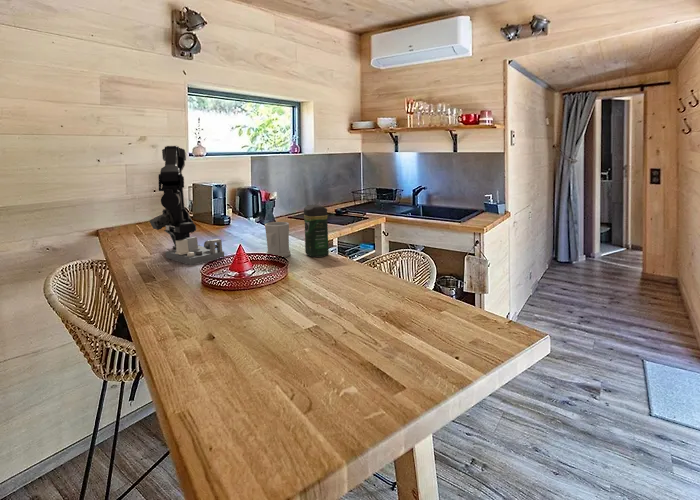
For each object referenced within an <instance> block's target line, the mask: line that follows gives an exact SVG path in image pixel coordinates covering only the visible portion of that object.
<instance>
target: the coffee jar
mask: <svg viewBox="0 0 700 500" xmlns="http://www.w3.org/2000/svg"><path fill="white" fill-rule="evenodd" d="M328 215H329V214H328V208H327V207H325V206H322V205H319V204H306V206H305V207H304V208H303V219H304V248H305V249H304V250H305V251H304V253H305V254H306V255H307V256H309V257H312V258H314V257H315V258H316V257H317V258H322V257H325V256H328V255H329V253H330V250H329V230H328V228H329V227H328V221H329V219H328Z"/></svg>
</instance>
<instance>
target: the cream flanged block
mask: <svg viewBox="0 0 700 500" xmlns="http://www.w3.org/2000/svg"><path fill="white" fill-rule="evenodd" d="M175 250H177V252H175V254H179V255H183V254H187V253H188V252H190V251H189V248H188V240H187V239H183V240H177V241H176V248H175Z"/></svg>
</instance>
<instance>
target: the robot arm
mask: <svg viewBox="0 0 700 500" xmlns="http://www.w3.org/2000/svg"><path fill="white" fill-rule="evenodd" d="M161 152H162V156H161V157H162V160H163V162H164V166H163V167H161V168H160V172H159V173H158V177H157V178H158V192H163V194H162V196H161V197H160V204H161V205H162V207H163V208H164V209H162V211H161V212H162V214H160V215H157V216H155V217H153V218H152V219H149V223H150V225H151V227H152V229H153V230H157V231H158V230H161V229H163V228H165V229H164V230H163V231H164V232H165V233H167V234H168V235H170V238H171V240H172V242H173V245H174V246H171V247H172V248H173V249H176V241H177V240H183V239H185V238H189V237H191V236H190V235H191V234H193V233H195V232H196V231H197V225H196V223H194V221H193V220H192V217H190V213H189V212H188V210H187V209H186V207H185V206H186V205H185V197H184V188H185V176H184V175H183V174H182V173H183V170H184V168H185V166H186V163H185V162H186V161H187V154H186V150H185V149H184V148H181V147H180V146H178V145H166V146H164V148H163V149H162V150H161ZM190 233H191V234H190Z"/></svg>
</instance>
